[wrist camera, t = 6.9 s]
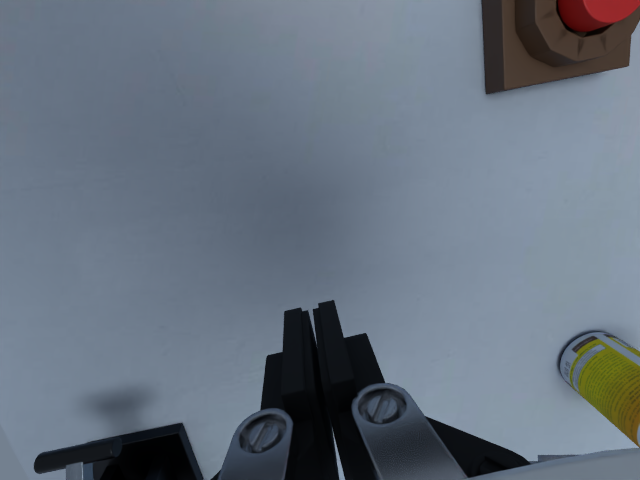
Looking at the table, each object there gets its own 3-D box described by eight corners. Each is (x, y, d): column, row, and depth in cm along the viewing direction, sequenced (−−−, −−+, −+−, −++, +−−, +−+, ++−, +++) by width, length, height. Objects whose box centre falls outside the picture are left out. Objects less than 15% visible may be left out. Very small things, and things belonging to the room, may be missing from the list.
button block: (479, -45, 21) (520, -84, 18) (606, -69, 22) (673, -113, 18) (485, 94, 24) (522, 86, 20) (600, 72, 24) (658, 60, 20)
